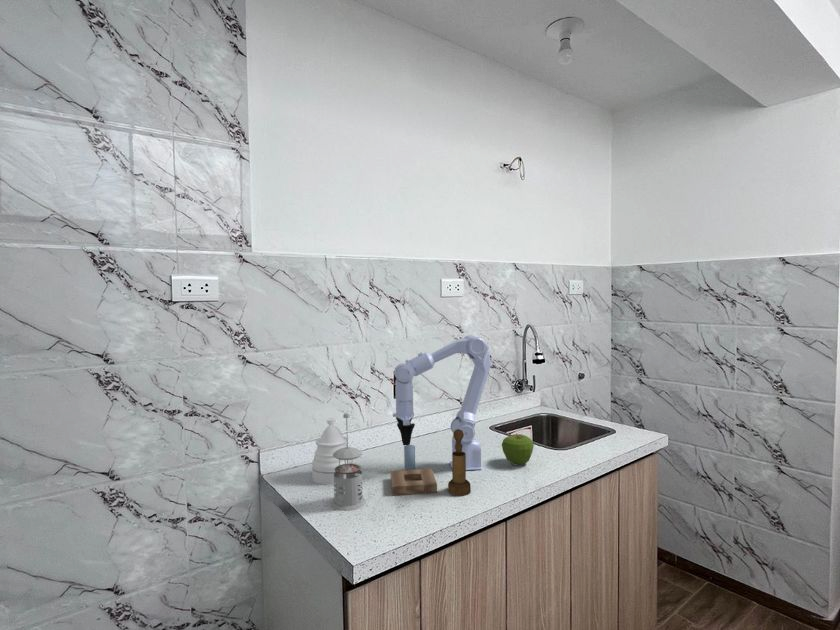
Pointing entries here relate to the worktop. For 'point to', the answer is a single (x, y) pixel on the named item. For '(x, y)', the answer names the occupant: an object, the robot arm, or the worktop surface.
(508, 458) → the apple
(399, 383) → the robot arm
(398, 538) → the worktop surface
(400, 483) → the socket block
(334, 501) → the french press
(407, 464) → the peg
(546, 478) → the worktop surface
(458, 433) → the mortar and pestle
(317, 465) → the honey pot
